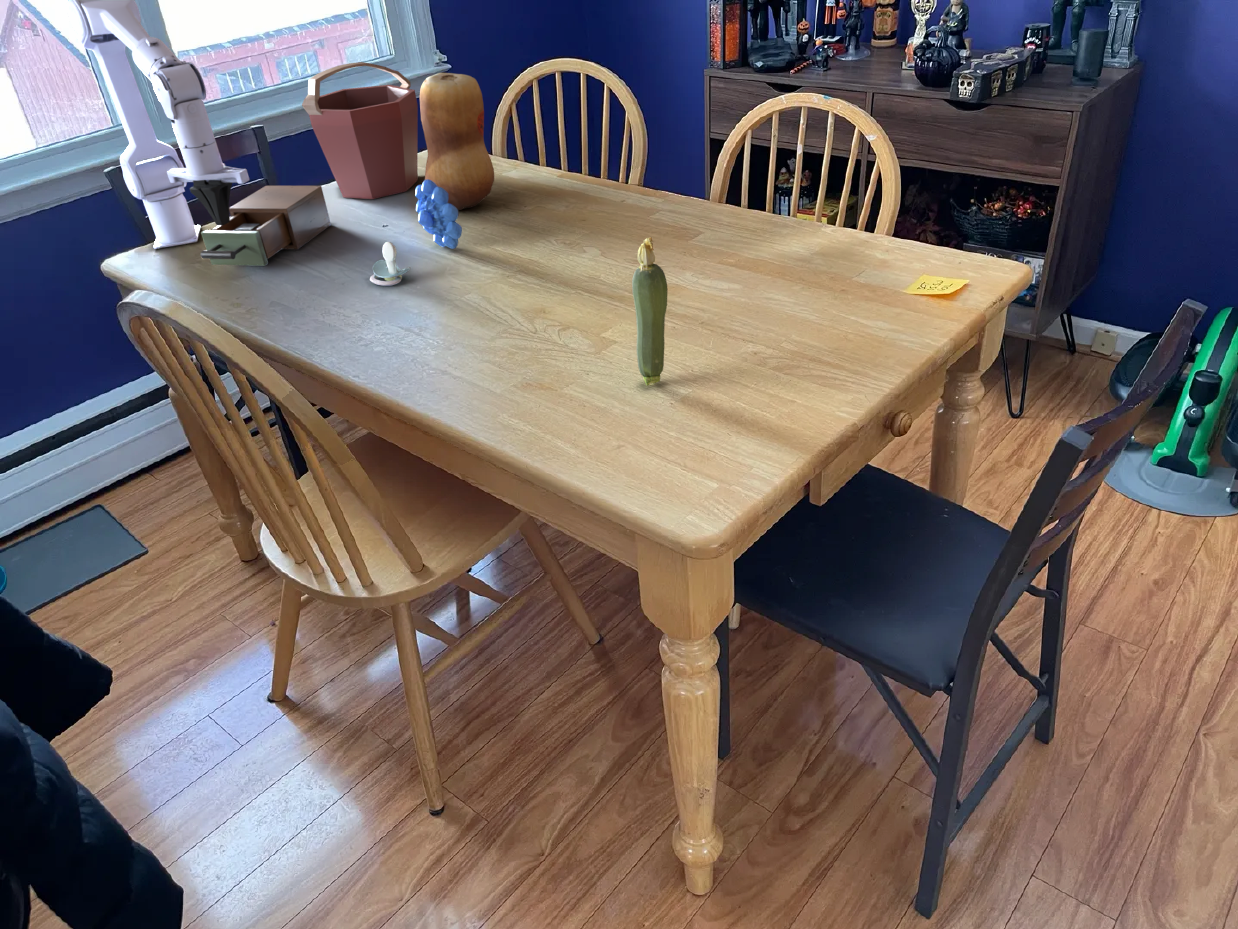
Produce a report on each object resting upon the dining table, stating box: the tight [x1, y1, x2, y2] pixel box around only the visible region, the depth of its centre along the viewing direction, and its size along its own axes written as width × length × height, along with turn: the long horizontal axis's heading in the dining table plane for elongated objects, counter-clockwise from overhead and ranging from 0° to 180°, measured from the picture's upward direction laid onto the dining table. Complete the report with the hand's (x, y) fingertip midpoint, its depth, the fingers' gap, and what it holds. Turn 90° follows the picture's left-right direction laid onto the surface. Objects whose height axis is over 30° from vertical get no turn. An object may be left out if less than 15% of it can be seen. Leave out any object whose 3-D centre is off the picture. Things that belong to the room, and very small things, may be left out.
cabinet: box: [229, 185, 332, 250], centre depth 177 cm, size 13×12×8 cm
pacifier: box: [369, 241, 412, 287], centre depth 155 cm, size 7×6×6 cm
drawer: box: [200, 212, 292, 267], centre depth 166 cm, size 17×11×6 cm, turn 167°
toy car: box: [234, 224, 260, 231], centre depth 169 cm, size 7×4×4 cm, turn 77°
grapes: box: [414, 179, 463, 250], centre depth 164 cm, size 12×7×12 cm, turn 45°
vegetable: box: [631, 236, 669, 387], centre depth 115 cm, size 4×4×20 cm
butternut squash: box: [419, 72, 495, 211], centre depth 179 cm, size 14×13×25 cm
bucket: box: [301, 61, 419, 200], centre depth 195 cm, size 24×22×25 cm
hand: (223, 223), depth 161 cm, fingers closed
